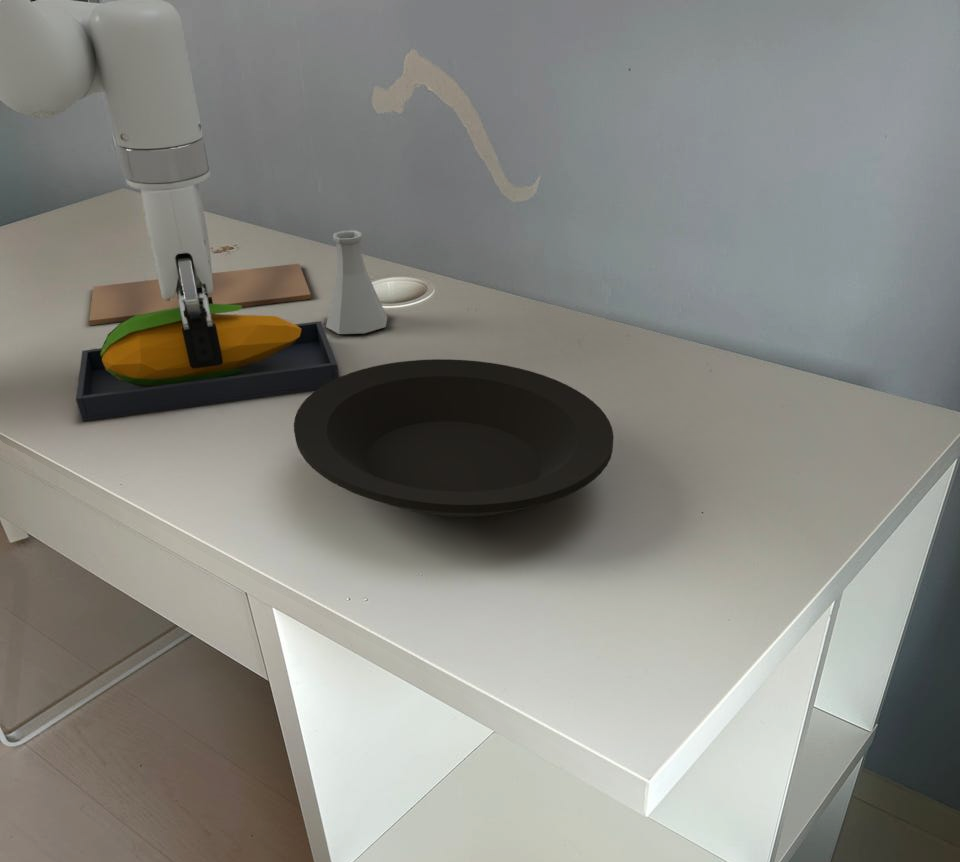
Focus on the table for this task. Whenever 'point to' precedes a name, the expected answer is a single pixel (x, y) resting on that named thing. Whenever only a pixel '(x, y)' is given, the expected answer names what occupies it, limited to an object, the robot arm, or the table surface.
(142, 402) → the tray
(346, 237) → the flask
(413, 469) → the plate
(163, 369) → the corn
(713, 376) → the table surface
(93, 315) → the board
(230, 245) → the table surface
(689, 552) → the table surface
